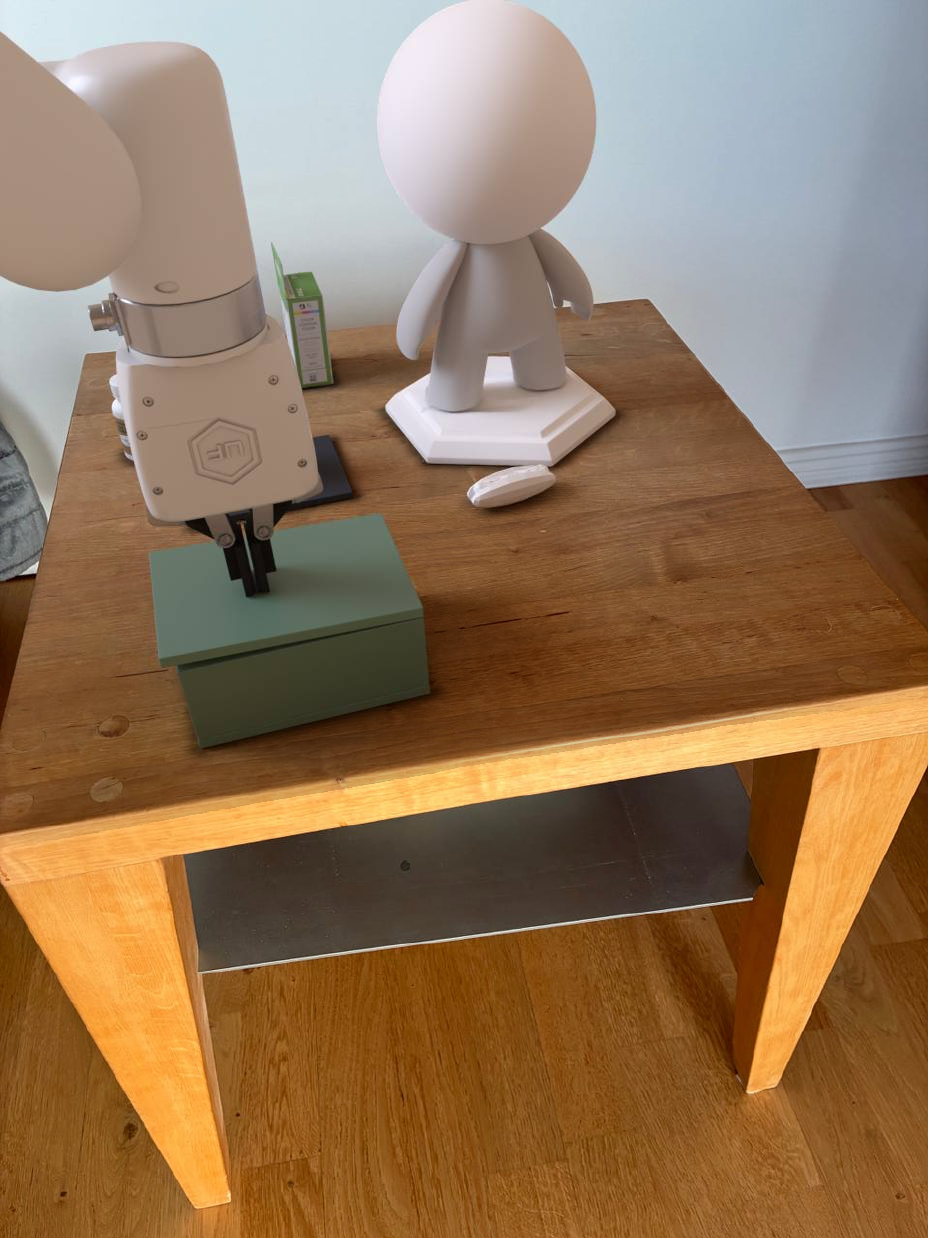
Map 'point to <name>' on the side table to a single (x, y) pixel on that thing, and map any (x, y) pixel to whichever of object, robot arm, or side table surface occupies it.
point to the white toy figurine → (491, 232)
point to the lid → (280, 591)
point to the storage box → (304, 681)
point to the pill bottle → (120, 417)
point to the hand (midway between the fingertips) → (255, 581)
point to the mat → (329, 474)
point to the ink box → (305, 325)
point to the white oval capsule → (510, 486)
